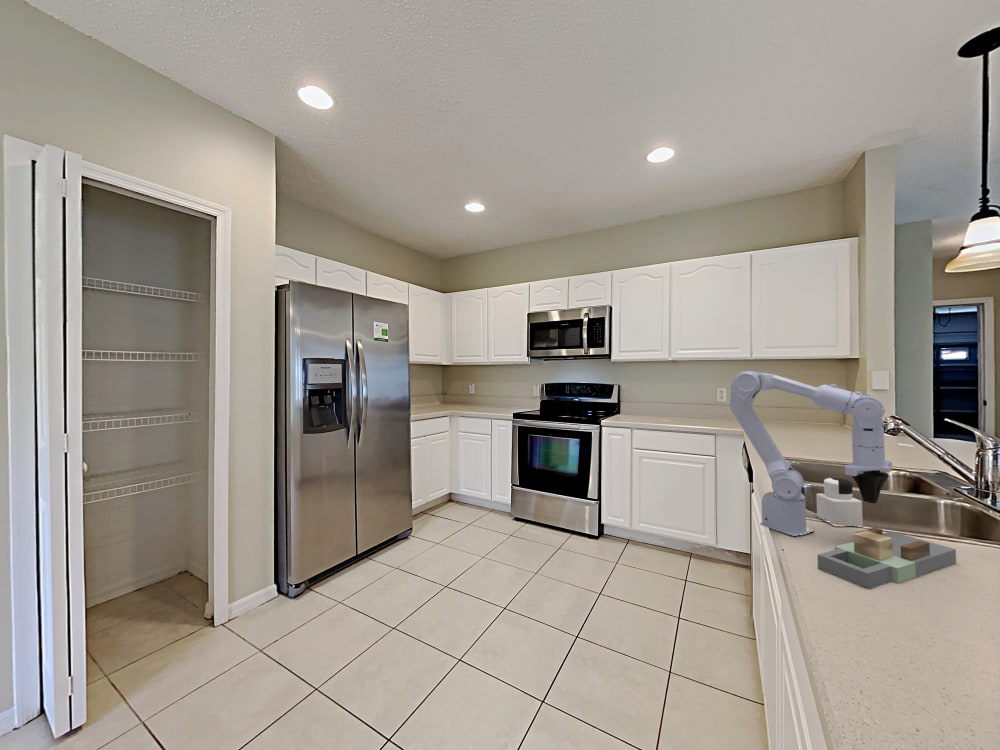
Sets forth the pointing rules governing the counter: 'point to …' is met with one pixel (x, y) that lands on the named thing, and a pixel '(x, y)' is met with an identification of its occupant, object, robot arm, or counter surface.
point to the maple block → (873, 545)
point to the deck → (884, 563)
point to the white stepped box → (839, 503)
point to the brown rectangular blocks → (908, 547)
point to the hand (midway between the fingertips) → (870, 501)
